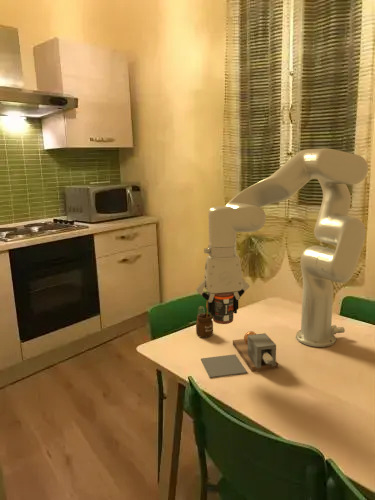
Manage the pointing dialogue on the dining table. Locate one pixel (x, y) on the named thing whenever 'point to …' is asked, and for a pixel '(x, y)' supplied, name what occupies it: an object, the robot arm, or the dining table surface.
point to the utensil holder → (204, 324)
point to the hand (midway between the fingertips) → (223, 312)
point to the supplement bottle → (223, 308)
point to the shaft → (264, 353)
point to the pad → (223, 366)
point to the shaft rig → (256, 351)
